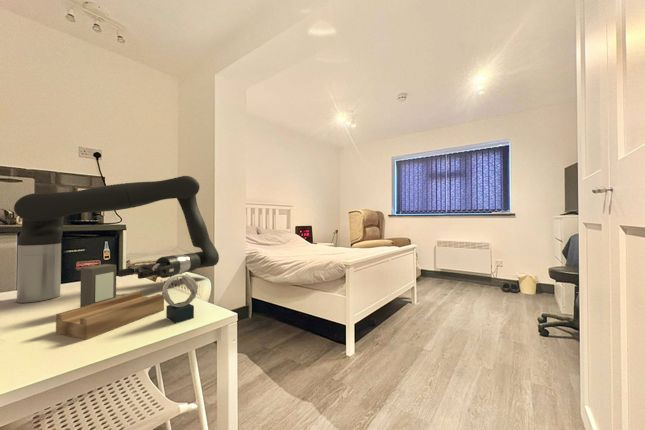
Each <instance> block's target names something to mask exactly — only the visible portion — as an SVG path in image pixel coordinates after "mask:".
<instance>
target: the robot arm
mask: <svg viewBox="0 0 645 430" xmlns="http://www.w3.org/2000/svg"><path fill="white" fill-rule="evenodd" d="M199 191H200V183H199V181H198V180H197V179H196V178H195V177H192V176H190V175H182V176H178V177H173V178H168V179H162V180H158V181H157V180H156V181H136V182H135V181H133V182H125V183H123V182H122V183H116V184H109V185H102V186H96V187H91V188H90V187H89V188H86V189H82V190H75V191H62V192H60V191H59V192H37V193H35V192H34V193H29V194H26V195H23V196H21V197H19V198H18V199H17V200H16V202H15V203H14V206H13V211H14V213H15V215H16V216H17V217H19V219H21V231H20V233H19V235H18V237H17V273H16V274H17V275H16V276H17V277H16V278H17V279H16V280H17V282H16V302H17V303H22V304H23V303H36V302H41V301H47V300H51V299H55V298H57V297H60V296H61V283H62V281H61V277H62V275H61V274H62V237H63V232H64V217H68V216H72V215H77V214H84V213H98V212H99V213H100V212H101V213H103V212H113V211H121V210H126V209H127V210H128V209H134V208H137V207H138V208H139V207H141V206H142V207H143V206H145V205H149V204H153V203H155V202H159V201H160V202H161V201H164V200H170V199H171V200H173V199H177V201H178V204H179V206H180V208H181V210H182V213H183V216H184V219H185V223H186V227H187V231H188V234H189V238H190V241H191V244H192V246H193V247H194V248H198V249H201V251H196V252H191V253H182V254H173V255H167V256H165V255H164V256H161V257H159V258H158V259H156V261H155V262H151V263H150V262H149V263H142V264H136V265H129V266H127V268H122V269H118V271H117V276H118V277H119V278H122V277H128V276H133V275H134V276H135V275H137V279H138V280H139V279H140V280H142V279H145V278H150V277H152V278H154V277H157V278H162V279H168V278H170V277H171V276H173V275H177V274H184V273H185V274H186V273H187V272H191V271H192V272H193V271H195V270H196V269H201V268H202V269H203V268H209V267H214V266H217V265H218V263H219V261H220V255H219V252H218V250H217V248H216V246H215V245H214V244H213V242H212V240H211V238H210V236H209V232H208V229H207V228H208V227H207V225H206V223H205V221H204V218H203V216H202V214H201V212H200V209H199V206H198V201H197V194H198V193H199Z"/></svg>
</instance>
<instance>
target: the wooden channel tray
mask: <svg viewBox="0 0 645 430" xmlns="http://www.w3.org/2000/svg"><path fill="white" fill-rule="evenodd" d="M143 293H144V292H143V291H142V292H141V291H136V292H132V293H128V294H124V295H121V296H116V298H113V299H109V300H106V301H102V302H98V303H95V304H91V305H88V306H84V307H80V306H79V307H77V308H73V309H70V310H67V311H62V312H59V313H56V315H55V333H56V335H57V334H58V335H63V336H66V337H67V336H68V337H73V338H77V339H82V340H89V339H92V338H95V337H98V336H99V335H103V334H106V333H107V332H110V331H112V330H115V329H118V328H120V327H123V326H126V325H129V324H131V323H134V322H136V321H138V320H139V321H140V320H142V319H144V318H146V317H149V316H152V315H155V314H157V313H159V312H162V311H164V310H165V299H164V297H163V295H162V293H157V294H155V295H150V296H143V295H144V294H143Z"/></svg>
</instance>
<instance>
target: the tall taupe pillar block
mask: <svg viewBox="0 0 645 430" xmlns="http://www.w3.org/2000/svg"><path fill="white" fill-rule="evenodd" d="M79 292H80V293H79V294H80V295H79V296H80V301H79V303H80V306H79V308H80V307H84V306H88V305H91V304H95V303H98V302H102V301H106V300H109V299H113V298H117V265H116V264H111V263H104V264H103V263H102V264H97V265H90V266H86V267H85V266H84V267H80V291H79Z"/></svg>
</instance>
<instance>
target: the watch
mask: <svg viewBox="0 0 645 430" xmlns="http://www.w3.org/2000/svg"><path fill="white" fill-rule="evenodd" d="M178 278H181V280H182V283H183V285H185V286H184V287H186V288H187V289H188V290H189V291H190V294H189V296H188V298H187V299H186V300H184V301H181V302H177V303H175V302H174V301H173V300H172V299H171V297H170V294H169V291H168V288H169V286H170V284H171V283H172V282H174V280H177V279H178ZM198 289H199V285H198V283H197V281H196V280H195V279H194V278H193V277H192V276H191V275H189V274H188V273H185V274H184V273H182V274H177V275H173V276H171V277H168V278H166V280H165V282H164V283H163V286H162V288H161V290H162V291H161V294H162V295H163V297H164V302H166V303H167V304H168V305H166V310H165V311H166V315H165V316H166V317H165V318H166V319H167V320H169V321H171V322H172V323H174V324H176V325H177V324H179V323H182V322H186V321H189V320H192V319H195V314H194V313H195V305H193V304H191V303H192V302H193V301H194V299H195V298H196V296H197V294H198Z"/></svg>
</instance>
